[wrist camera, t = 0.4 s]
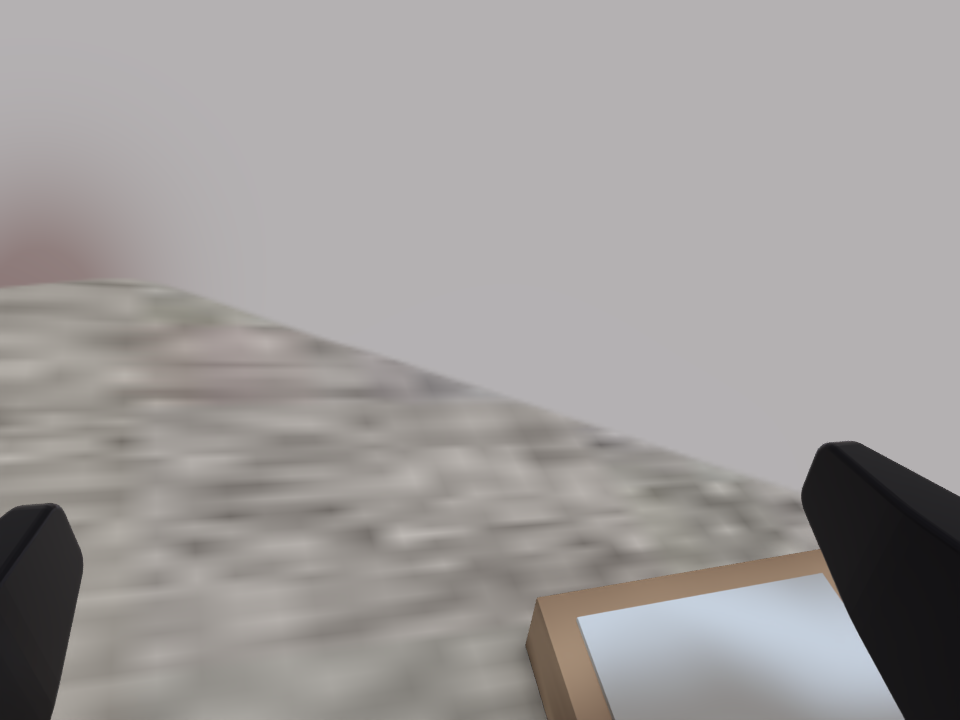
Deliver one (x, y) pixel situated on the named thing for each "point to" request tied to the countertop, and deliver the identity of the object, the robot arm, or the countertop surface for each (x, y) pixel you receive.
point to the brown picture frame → (708, 648)
